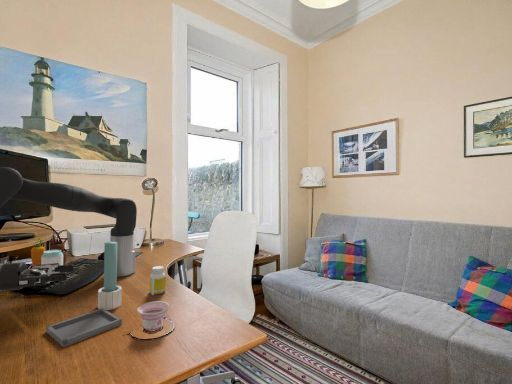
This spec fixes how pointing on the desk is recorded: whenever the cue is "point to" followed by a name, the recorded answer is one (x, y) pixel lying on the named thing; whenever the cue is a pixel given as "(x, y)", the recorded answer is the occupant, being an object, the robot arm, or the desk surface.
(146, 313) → the teacup
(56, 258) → the can
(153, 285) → the supplement bottle
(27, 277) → the robot arm
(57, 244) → the wooden figurine
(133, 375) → the desk surface
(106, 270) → the dowel
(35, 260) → the carrot
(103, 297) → the cup
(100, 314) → the tray
